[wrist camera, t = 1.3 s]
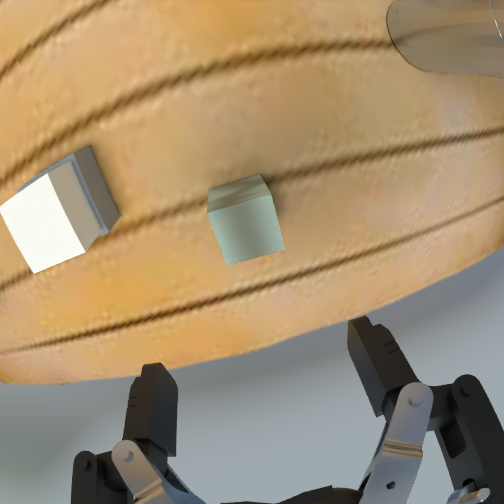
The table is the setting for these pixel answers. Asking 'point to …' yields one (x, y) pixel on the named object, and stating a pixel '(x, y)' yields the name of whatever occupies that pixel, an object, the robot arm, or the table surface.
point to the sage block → (244, 220)
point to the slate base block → (89, 186)
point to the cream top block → (51, 219)
